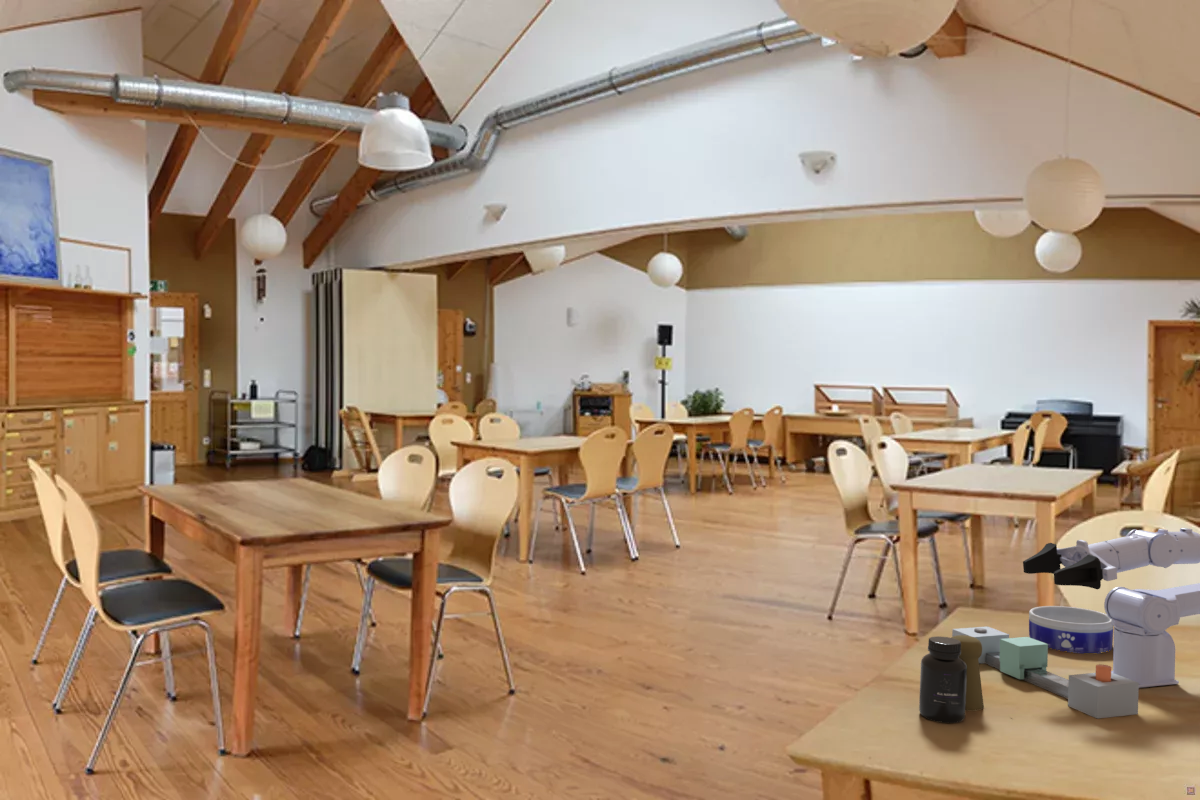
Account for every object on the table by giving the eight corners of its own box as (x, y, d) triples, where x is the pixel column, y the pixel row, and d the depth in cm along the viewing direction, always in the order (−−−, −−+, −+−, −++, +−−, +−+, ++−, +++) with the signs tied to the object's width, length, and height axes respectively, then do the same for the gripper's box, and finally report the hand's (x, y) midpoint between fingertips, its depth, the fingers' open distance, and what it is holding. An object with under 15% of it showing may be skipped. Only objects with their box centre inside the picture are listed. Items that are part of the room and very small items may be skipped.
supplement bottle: (943, 727, 145) (945, 648, 145) (909, 712, 151) (911, 637, 151) (975, 720, 148) (977, 642, 148) (941, 706, 154) (942, 632, 154)
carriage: (1027, 668, 174) (1027, 636, 174) (1047, 676, 169) (1047, 644, 169) (999, 671, 172) (999, 638, 172) (1018, 679, 167) (1019, 646, 167)
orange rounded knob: (1103, 688, 155) (1103, 663, 155) (1114, 692, 153) (1114, 667, 153) (1092, 689, 154) (1092, 664, 154) (1102, 694, 152) (1103, 668, 152)
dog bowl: (1034, 650, 188) (1034, 619, 188) (1023, 631, 203) (1024, 602, 203) (1120, 658, 184) (1121, 626, 184) (1103, 637, 198) (1104, 608, 198)
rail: (999, 662, 179) (999, 651, 179) (1090, 700, 158) (1091, 688, 158) (985, 663, 178) (985, 653, 178) (1075, 702, 157) (1076, 690, 157)
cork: (987, 712, 152) (988, 642, 152) (947, 708, 153) (948, 640, 153) (980, 699, 158) (981, 633, 158) (941, 696, 159) (942, 630, 159)
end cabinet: (1107, 701, 158) (1108, 671, 157) (1137, 714, 152) (1138, 682, 152) (1068, 705, 155) (1068, 675, 155) (1096, 718, 149) (1097, 686, 149)
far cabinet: (987, 652, 186) (987, 624, 186) (1008, 660, 180) (1009, 632, 180) (951, 655, 183) (952, 626, 183) (972, 664, 178) (973, 635, 178)
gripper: (1074, 526, 174) (1010, 540, 171) (1137, 545, 160) (1068, 560, 157) (1077, 564, 174) (1013, 579, 171) (1140, 585, 160) (1071, 602, 157)
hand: (1039, 572), depth 164 cm, fingers open, 7 cm apart
